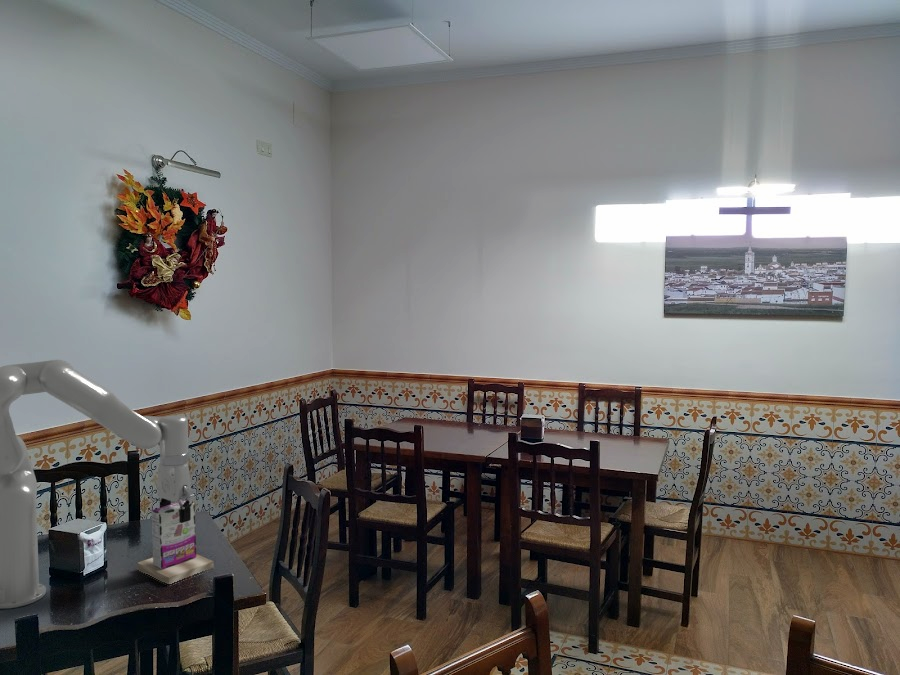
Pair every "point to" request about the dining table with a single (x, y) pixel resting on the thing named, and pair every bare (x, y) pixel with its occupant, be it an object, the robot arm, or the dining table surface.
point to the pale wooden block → (176, 569)
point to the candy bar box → (172, 536)
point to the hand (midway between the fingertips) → (175, 517)
